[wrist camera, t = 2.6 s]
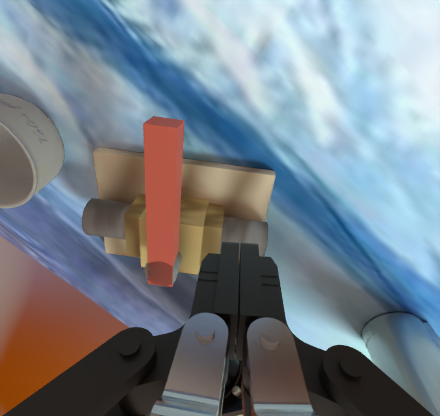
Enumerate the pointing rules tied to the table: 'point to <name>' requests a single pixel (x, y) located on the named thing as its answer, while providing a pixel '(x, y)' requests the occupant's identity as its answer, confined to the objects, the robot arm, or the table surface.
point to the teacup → (26, 151)
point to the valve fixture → (189, 210)
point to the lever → (163, 198)
